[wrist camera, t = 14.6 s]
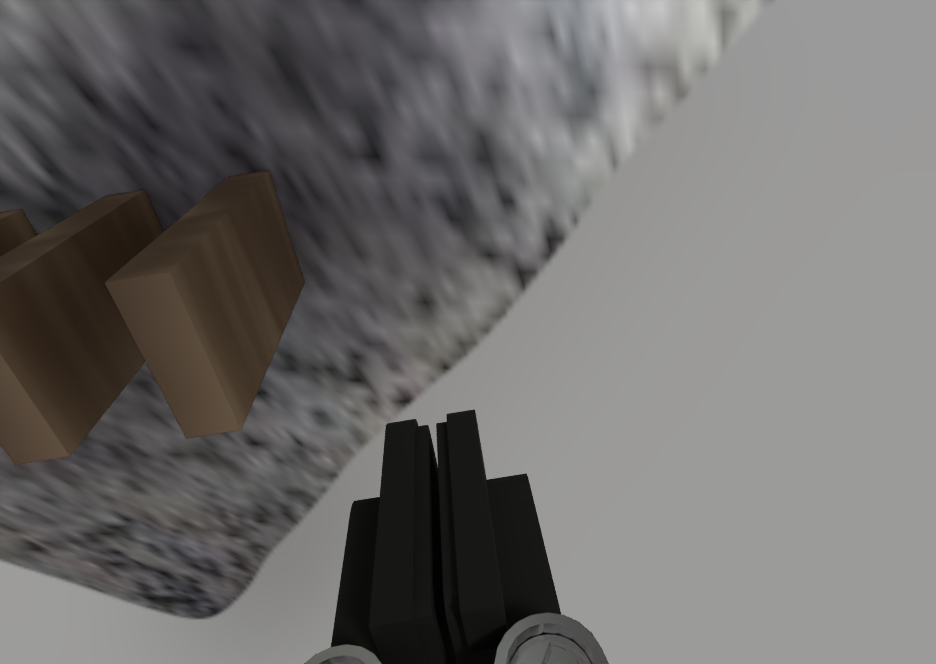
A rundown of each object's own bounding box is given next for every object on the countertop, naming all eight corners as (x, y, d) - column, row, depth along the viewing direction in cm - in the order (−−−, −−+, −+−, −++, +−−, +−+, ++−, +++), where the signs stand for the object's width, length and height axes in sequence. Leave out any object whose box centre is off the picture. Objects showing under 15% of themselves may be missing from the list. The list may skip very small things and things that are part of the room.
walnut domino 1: (145, 189, 22) (-34, 304, 13) (193, 299, 24) (69, 456, 16) (105, 195, 22) (-99, 314, 13) (158, 305, 24) (15, 464, 16)
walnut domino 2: (268, 170, 22) (169, 272, 13) (304, 282, 24) (241, 429, 16) (228, 176, 22) (104, 282, 13) (269, 288, 24) (185, 438, 16)
